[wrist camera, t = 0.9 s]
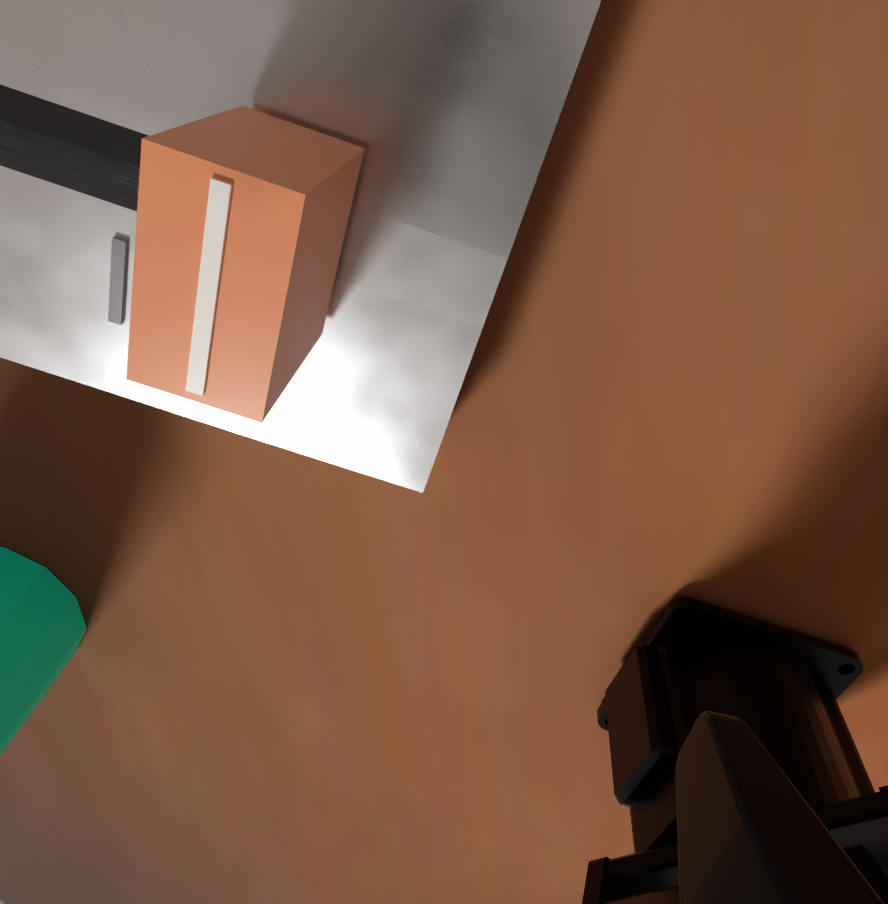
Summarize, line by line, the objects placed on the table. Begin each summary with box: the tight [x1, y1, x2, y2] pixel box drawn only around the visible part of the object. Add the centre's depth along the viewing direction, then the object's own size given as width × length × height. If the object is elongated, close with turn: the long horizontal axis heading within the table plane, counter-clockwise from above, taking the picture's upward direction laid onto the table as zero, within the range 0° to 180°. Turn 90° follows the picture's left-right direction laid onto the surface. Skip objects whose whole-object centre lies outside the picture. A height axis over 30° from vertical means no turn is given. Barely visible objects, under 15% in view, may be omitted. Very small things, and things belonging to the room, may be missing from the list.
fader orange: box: [126, 105, 364, 423], centre depth 14 cm, size 2×4×7 cm, turn 163°
